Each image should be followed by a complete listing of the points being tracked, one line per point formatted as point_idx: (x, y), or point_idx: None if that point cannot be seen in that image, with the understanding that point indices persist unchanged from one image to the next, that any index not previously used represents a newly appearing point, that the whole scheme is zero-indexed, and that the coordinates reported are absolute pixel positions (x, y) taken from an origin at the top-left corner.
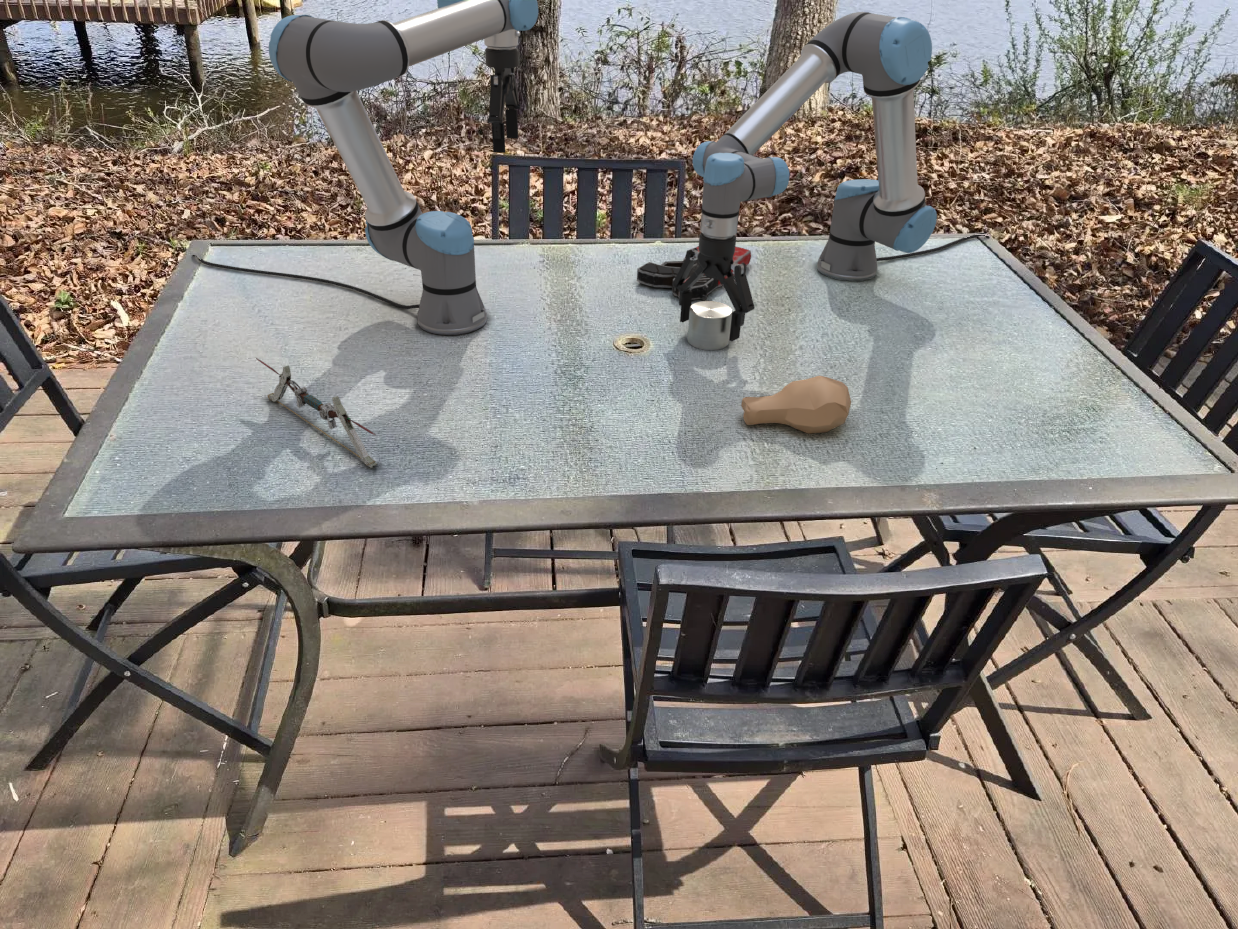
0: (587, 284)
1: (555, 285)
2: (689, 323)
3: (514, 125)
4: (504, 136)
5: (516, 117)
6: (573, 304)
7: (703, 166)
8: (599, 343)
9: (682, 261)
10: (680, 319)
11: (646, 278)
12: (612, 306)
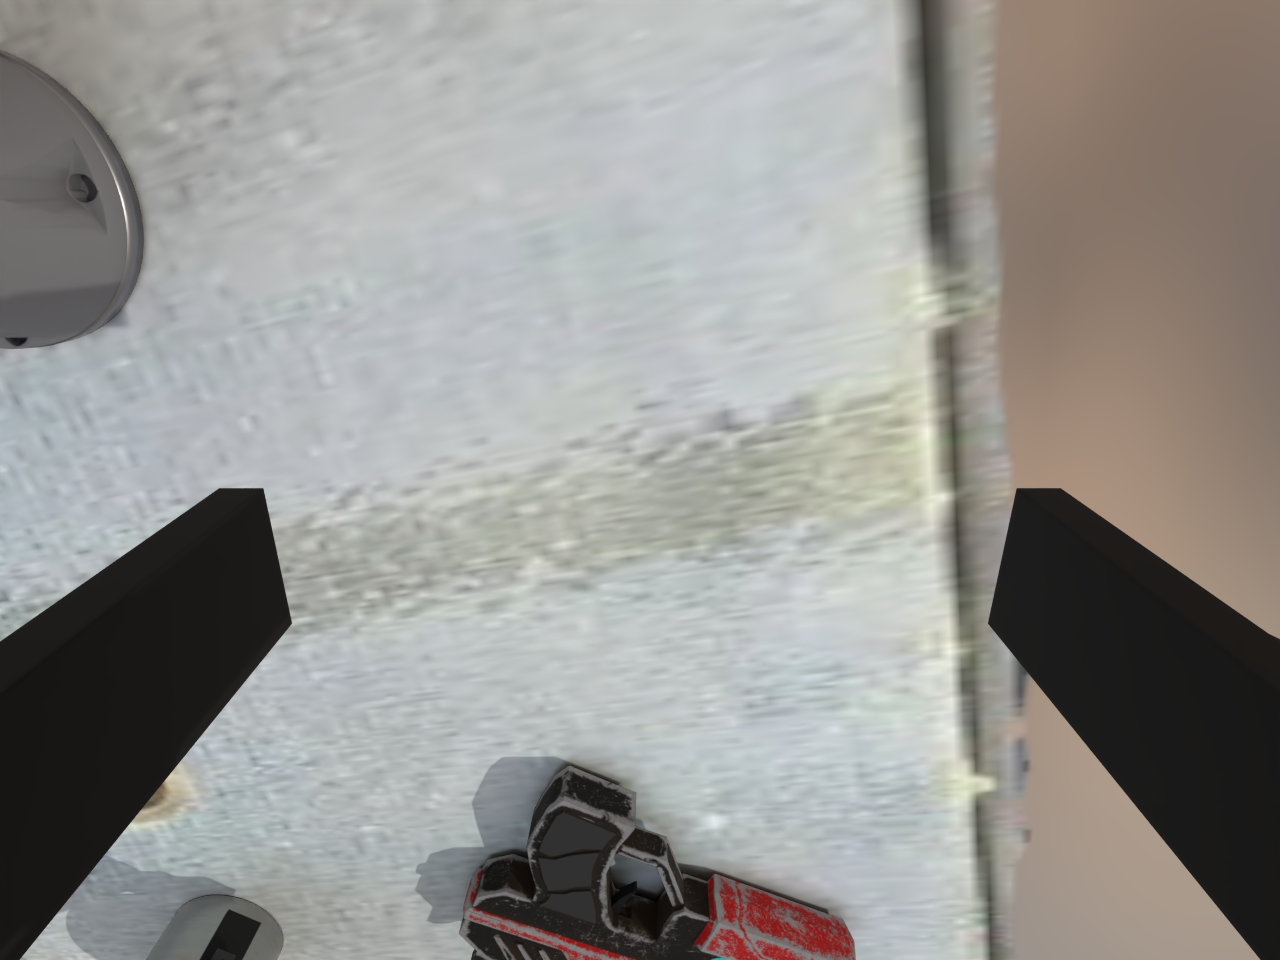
0: (526, 619)
1: (486, 517)
2: (166, 950)
3: (1091, 703)
4: (165, 762)
5: (1170, 844)
6: (337, 601)
7: None
8: None
9: (677, 902)
10: (224, 916)
11: (541, 808)
12: (364, 711)
